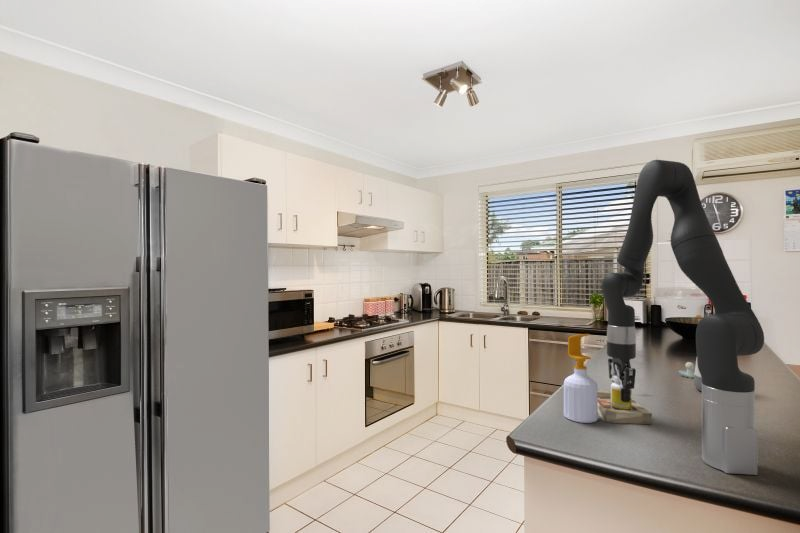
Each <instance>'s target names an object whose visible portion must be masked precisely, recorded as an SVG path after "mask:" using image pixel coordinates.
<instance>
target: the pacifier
mask: <svg viewBox="0 0 800 533" xmlns="http://www.w3.org/2000/svg"><path fill="white" fill-rule="evenodd" d="M685 368H686V371H684V370H680V369H679V370H678V372H679V374H681V376H682V377H684V378H687V377H688V378H689V379H694V373H695V372H694V370H695V365H694V363H693V362H691V361H688V362H686V363H685Z"/></svg>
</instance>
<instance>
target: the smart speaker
mask: <svg viewBox="0 0 800 533" xmlns="http://www.w3.org/2000/svg"><path fill="white" fill-rule="evenodd" d="M695 360H696V361H695V365H694V372H693V373H694V378H693V383H694V387H695V389H696V390H697V391H699V392H700V393H702V377H701V374H700V372H699V369H698V365H697V358H696V359H695Z"/></svg>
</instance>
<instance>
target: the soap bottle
mask: <svg viewBox="0 0 800 533" xmlns="http://www.w3.org/2000/svg"><path fill="white" fill-rule="evenodd" d="M587 336H590V333H578V334H573V335H570V336H569V337H568V338H567V353H568V354H567V355H568V356H569V357H570V358H573V359H575V362H577V364H576V365H574V368H573V369H574V370H573V372H574V373H572V374H571V375H569V376H567V377H566V378H565V379H564V381H563V416H564V417H565V418H566V419H568V420H569V421H572V422H577V423H580V424H581V423H582V424H583V423H584V424H591V423H595V422H597V421H598V419H599V418H598V415H599V414H598V391H599V390H598V389H599V388H598V383H597V381H596V380H595V379H594V378H592V377H591V376H589V375H588V374H587V372H588V371H587V370H588V369H587V366H586V365H584V363H585V362H587V361H586V360H591V358H592V357H590V356H588V355H584V354H582V351H581V348H582V347H581V342H582V341H581V340H582V338H584V337H587Z"/></svg>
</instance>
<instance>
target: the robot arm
mask: <svg viewBox="0 0 800 533" xmlns="http://www.w3.org/2000/svg"><path fill="white" fill-rule="evenodd" d="M659 197H663V198H666V200H667V201H668V203H669V205H670V207H671V210H672V213H673V216H674V222H673V226H672V230H671V235H670V246H671V249H672V252H673V255H674V257H675V260H676V263H677V265H678V267H679V269H680V270H681V272H682V273H683V274H684V275H685V277H687V278H688V279H689V280H690V281H691V282H692V283H693V284H694V285H695V286H696V287H697V288H698V289H699V290H701V292H702V293H703V294H704V295H705V296H706V297H707V298H708V300H709V301H710V303H711V305H712V307H713V309H714V312H715V313H713V314H707V315H705V316H704V317H701V319H700V320H699V321H698V324H697V326H696V330H695V348H696V359H697V365H698V369H699V372H700V374H701V377H702V392H701V459H702V461H703V462H704V463H705V464H706V465H708V466H710V467H712V468H715V469H717V470H719V471H720V470H721V471H723V472H724V473H725V474H734V475H735V474H737V475H754V476H755V475H756V476H757V475H758V472H759V470H758V429H756V428H755V427H756V426H755V424H756V421H755V416H756V415H755V413H756V412H755V411H756V410H755V409H756V406H755V405H756V404H755V403H756V401H755V400H756V399H755V397H756V390H755V388H756V386H755V382H756V380H755V379H754V377H753V376H752V375H751V374H748V373H747V372H743V371H742V370H740V368H739V363H738V357H739V356H740V357H741V356H743V357H744V356H751V355H755V354H757V353H759V352H760V351H761V350H762V349H763V346H764V344H765V335H764V334H765V333H764V331H763V330H764V329H763V327H762V325H761V322H760V321H759V320H758V317H757V315H756V314H755V312H754V311H753V308H752V307H751V306H750V304H749V303H748V301H747V299H746V298H745V296H744V294H743V292H742V290H741V289H740V287H739V285H738V282H737V281H736V278H735V276H734V274H733V272H732V270H731V268H730V266H729V264H728V262H727V259H726V258H725V255H724V252H723V249H722V247H721V244H720V242H719V240H718V238H717V235H716V234H715V231H714V230H713V228H712V225H711V224H710V221H709V218H708V215H707V214H706V211H705V208H704V206H703V204H702V201H701V198H700V195H699V192H698V188H697V185H696V181H695V178H694V175H693V172H692V170H691V169H690V167H689V166H688V165H687V164H685V163H682V162H679V161H675V160H674V161H672V160H664V159H663V160H662V159H654V160H651V161H649V162H647V163H646V164H645V165H644V166H643V167H642V169H641V170H640V172H639V175H638V178H637V182H636V187H635V192H634V197H633V202H632V205H631V206H632V207H631V213H630V218H629V223H628V227H627V231H626V233H625V236H624V239H623V243H622V245H621V247H620V250H619V252H618V256H617V260H616V261H617V263H618V264H619V265H620V266H622V267H624V269H623V270H624V271H623V272H610V273H608V274H606V275H605V276H604V277H603V280H602V282H601V291H602V296H603V299H604V303H605V305H606V306H605V307H606V309H607V329H606V355H607V356H608V357H610V358H608V359H607V364H608V378H609V379H611V382H612V383H614V376H615V375H617V377H618V380H619V381H620V385H621V401H622V402H630V389H631V390H632V389H633V390H634V389H635V382H636V372H637V371H636V368H633V367H631V366H632V365H631V360H633V359H635V358H636V356H637V353H636V352H637V339H636V338H637V336H636V335H637V333H636V332H637V331H636V325H635V324H636V312H635V308H634V307H633V306H632V305H629V304H626V302H625V299H624V297H633V296H635V295H637V294H638V293H640V290H641V289H642V287H643V284H644V282H643V281H644V274H645V273H644V272H645V264H646V261H647V258H648V256H649V255H650V252H651V249H652V246H653V242H654V229H653V222H652V221H653V220H652V213H653V209H654V205H655V203H656V201H657V199H658V198H659ZM623 381H624V383H623Z"/></svg>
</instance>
